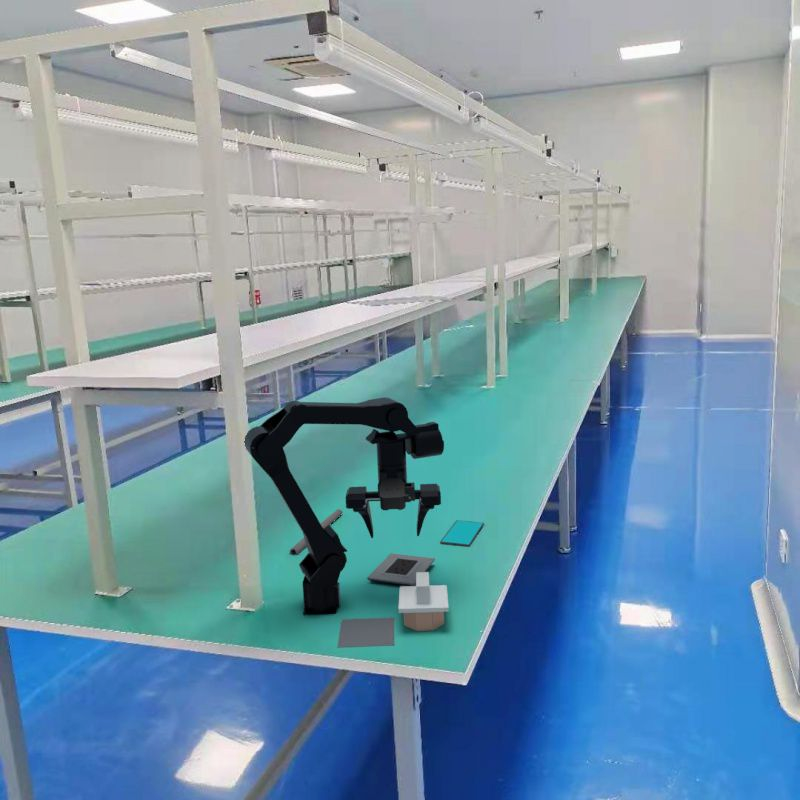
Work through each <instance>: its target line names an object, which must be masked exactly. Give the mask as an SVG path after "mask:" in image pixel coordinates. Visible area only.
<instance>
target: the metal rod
mask: <svg viewBox="0 0 800 800" xmlns="http://www.w3.org/2000/svg"><path fill="white" fill-rule="evenodd" d="M343 512H344V511H343V510H341V509H340V508H339V509H336V510H335V511H333V512H332V514H331V515H329V516H328V517H327V518H325V519H324V520H323V521H322V522H320V524H321V526H322V527H323V528H326V527H327V526H328V525H330V524H331V523H332V522H334V520H336V519H337V518H338V517H339V516H340V515H341V514H342V513H343ZM343 514H344V513H343ZM343 514H342V515H343ZM342 515H341V516H342ZM341 516H340V517H341ZM340 517H339V518H340ZM339 518H338V519H339ZM338 519H337V520H338ZM337 520H336V521H337ZM334 523H335V522H334ZM332 524H333V523H332ZM332 524H331V525H332ZM331 525H330V526H331ZM305 548H307V546H306V543H305V539H304V537H303V538H302V539H301V540H300V541H299V542H297V543H296V544H295V545H294V546H293V547H291V548H290V550H289V554H290V555H291V556H293V555H294V556H297V555H299V553H301V552H302V551H304V549H305Z"/></svg>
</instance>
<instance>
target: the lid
mask: <svg viewBox="0 0 800 800" xmlns="http://www.w3.org/2000/svg"><path fill="white" fill-rule="evenodd" d="M398 591H399V592H398V593H399V594H398V614H403V613H416V612H444V613H445V612H450V609H449V606H450V605H449V597H448V587H447V584H441V585H440V584H439V585H438V584H437V585H430V572H429V571H425V572H416V583H415V585H414V586H406V585H399V590H398Z"/></svg>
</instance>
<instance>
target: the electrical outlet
mask: <svg viewBox="0 0 800 800" xmlns="http://www.w3.org/2000/svg"><path fill="white" fill-rule="evenodd" d="M435 560H436V558H435V557H425V556H417V555H411V554H410V555H408V554H402V553H391V552H390V554H388V556H386V558H385V559H383V561H382V562H380V564H379V565H378V566H377V567H376V568H375V569H374V570H373V571H372V572H371V573H370V574H369V575H368V576H367V577H366V579H367V580H368V581H371V582H377V583H385V584H392V585H399V586H416V572H427V570H428V569H429V568H430V567H431V566H432V564H433V563H434V562H435Z"/></svg>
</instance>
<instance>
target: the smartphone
mask: <svg viewBox="0 0 800 800" xmlns="http://www.w3.org/2000/svg"><path fill="white" fill-rule="evenodd" d="M483 525H484V526H485V523H484V522H479V521H478V522H477V521H468V520H456V521H455V522H454V523H453V524H452V525H451V527H450V528H449V529H448V531H447V532H446V533H445V535H444V536H443V537H442V539H441V540H440V541H439V543H440V545H444V546H445V545H446V546H448V545H449V546H456V547H466V548H470V547H471V546H472V544H473V542H474V541H475V539H476V538H477V536H478V535H479V534H480V532H481V531H482V530H483V528H484V526H483Z"/></svg>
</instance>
